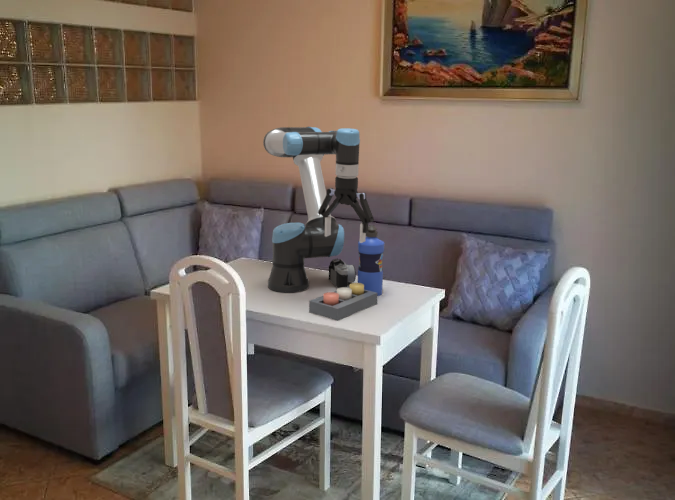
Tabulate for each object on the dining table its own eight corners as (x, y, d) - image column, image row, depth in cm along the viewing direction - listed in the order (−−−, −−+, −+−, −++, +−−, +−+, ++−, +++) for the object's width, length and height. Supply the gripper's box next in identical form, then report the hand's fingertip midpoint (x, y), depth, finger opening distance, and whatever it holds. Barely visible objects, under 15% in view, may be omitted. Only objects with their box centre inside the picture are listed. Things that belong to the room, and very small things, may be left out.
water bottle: (353, 295, 240) (355, 227, 234) (360, 288, 249) (362, 222, 242) (379, 298, 237) (381, 229, 231) (385, 290, 246) (387, 224, 240)
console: (309, 312, 222) (309, 300, 221) (349, 296, 239) (349, 285, 238) (337, 320, 215) (337, 308, 214) (377, 303, 231) (377, 292, 230)
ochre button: (346, 294, 231) (346, 285, 230) (355, 290, 235) (355, 281, 234) (358, 297, 228) (358, 288, 227) (366, 293, 232) (367, 284, 231)
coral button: (320, 304, 220) (320, 294, 219) (329, 300, 224) (330, 291, 223) (332, 307, 217) (332, 298, 216) (341, 303, 221) (341, 294, 220)
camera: (360, 290, 246) (361, 264, 244) (336, 291, 244) (337, 265, 241) (348, 278, 261) (348, 253, 258) (325, 279, 258) (326, 254, 256)
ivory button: (333, 298, 225) (333, 289, 225) (342, 295, 229) (343, 286, 228) (345, 302, 222) (345, 292, 222) (354, 298, 226) (354, 289, 225)
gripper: (308, 173, 224) (307, 235, 229) (375, 182, 211) (372, 247, 217) (320, 170, 230) (319, 230, 236) (385, 179, 218) (382, 242, 223)
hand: (344, 238), depth 226 cm, fingers open, 13 cm apart
